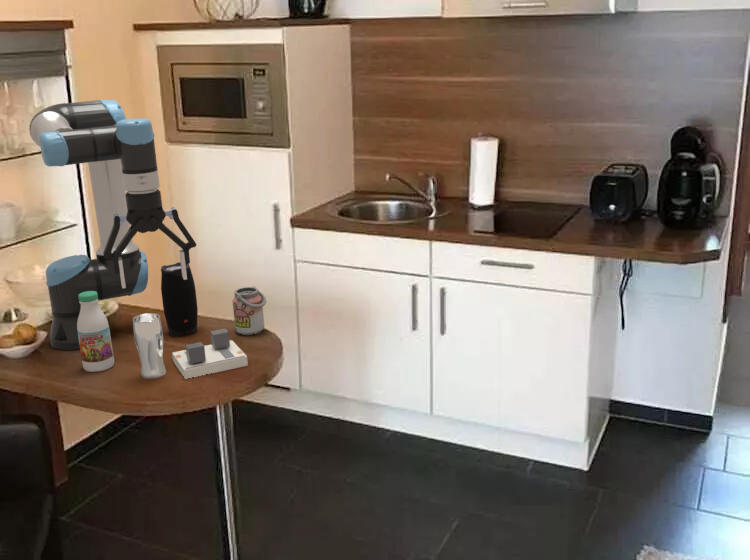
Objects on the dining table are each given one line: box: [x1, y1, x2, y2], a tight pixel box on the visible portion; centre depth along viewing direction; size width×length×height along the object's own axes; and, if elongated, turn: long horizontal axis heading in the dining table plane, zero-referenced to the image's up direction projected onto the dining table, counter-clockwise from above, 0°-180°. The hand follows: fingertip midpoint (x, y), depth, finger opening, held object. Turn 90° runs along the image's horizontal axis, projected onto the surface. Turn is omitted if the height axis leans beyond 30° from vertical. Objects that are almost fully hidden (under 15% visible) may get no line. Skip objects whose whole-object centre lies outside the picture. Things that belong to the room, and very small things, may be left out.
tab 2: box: [209, 328, 230, 349], centre depth 215 cm, size 3×4×4 cm
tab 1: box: [184, 341, 206, 364], centre depth 207 cm, size 3×4×4 cm
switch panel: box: [171, 339, 249, 380], centre depth 212 cm, size 13×16×3 cm
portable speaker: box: [160, 261, 198, 338], centre depth 232 cm, size 9×9×20 cm
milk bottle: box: [77, 291, 115, 373], centre depth 211 cm, size 8×8×20 cm
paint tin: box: [232, 285, 267, 336], centre depth 232 cm, size 9×8×12 cm
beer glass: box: [132, 312, 167, 380], centre depth 206 cm, size 7×7×15 cm
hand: (154, 282), depth 189 cm, fingers open, 13 cm apart
